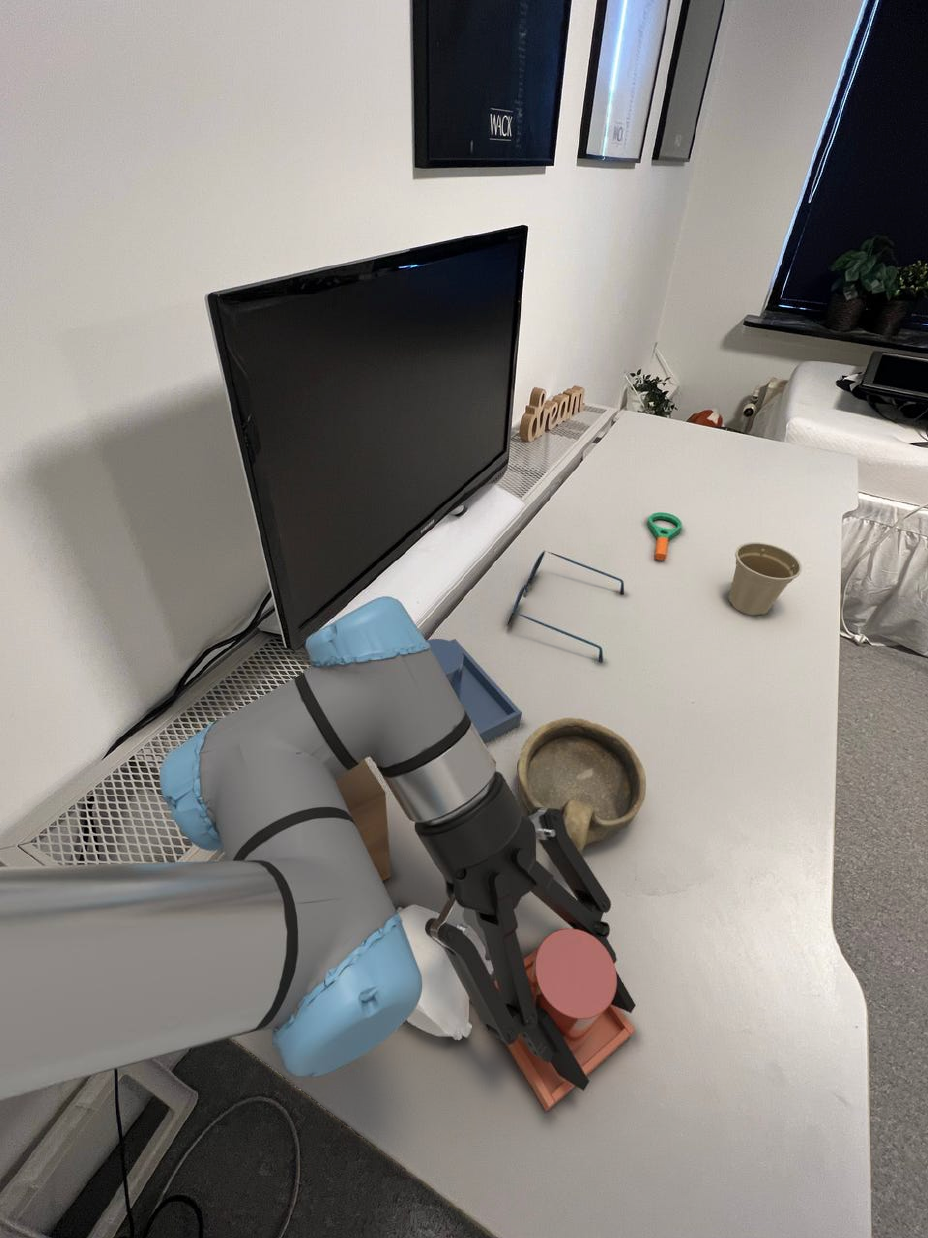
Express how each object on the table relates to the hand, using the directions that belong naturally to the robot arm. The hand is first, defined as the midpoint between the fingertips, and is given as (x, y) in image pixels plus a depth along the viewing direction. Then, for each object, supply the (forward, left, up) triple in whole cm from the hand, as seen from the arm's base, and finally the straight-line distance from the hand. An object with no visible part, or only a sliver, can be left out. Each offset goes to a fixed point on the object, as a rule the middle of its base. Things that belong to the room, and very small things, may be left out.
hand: (597, 1039), depth 47 cm
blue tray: (+8, +38, -4) cm, 38 cm away
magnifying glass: (+64, +51, -4) cm, 82 cm away
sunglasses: (+35, +44, -4) cm, 56 cm away
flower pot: (+62, +31, -4) cm, 69 cm away
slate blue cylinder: (+8, +38, -3) cm, 38 cm away
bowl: (+13, +18, -4) cm, 22 cm away
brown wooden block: (-13, +28, -4) cm, 31 cm away
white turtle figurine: (-10, +14, -4) cm, 17 cm away
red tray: (-1, +4, -4) cm, 5 cm away
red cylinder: (-1, +4, -2) cm, 4 cm away
